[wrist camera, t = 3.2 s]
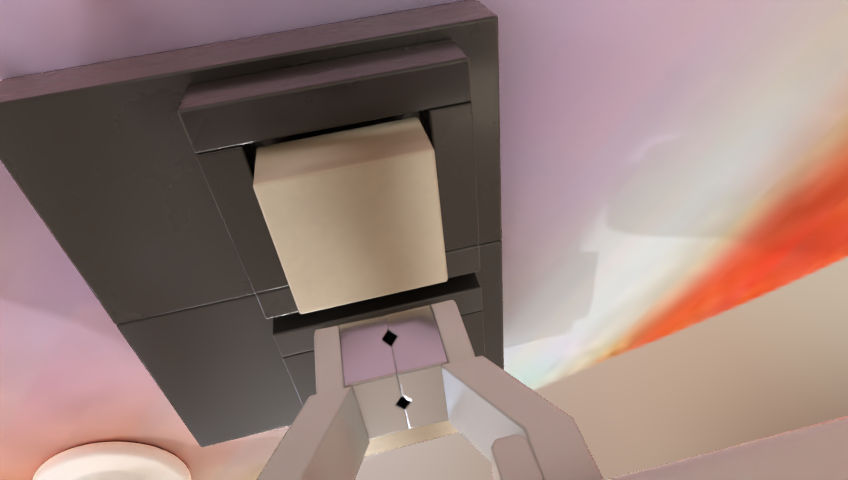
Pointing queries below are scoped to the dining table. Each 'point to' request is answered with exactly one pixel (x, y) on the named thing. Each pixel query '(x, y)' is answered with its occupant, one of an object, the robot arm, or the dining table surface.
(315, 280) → the key high
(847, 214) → the dining table surface
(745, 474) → the robot arm
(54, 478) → the candle
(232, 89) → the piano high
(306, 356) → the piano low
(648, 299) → the dining table surface
